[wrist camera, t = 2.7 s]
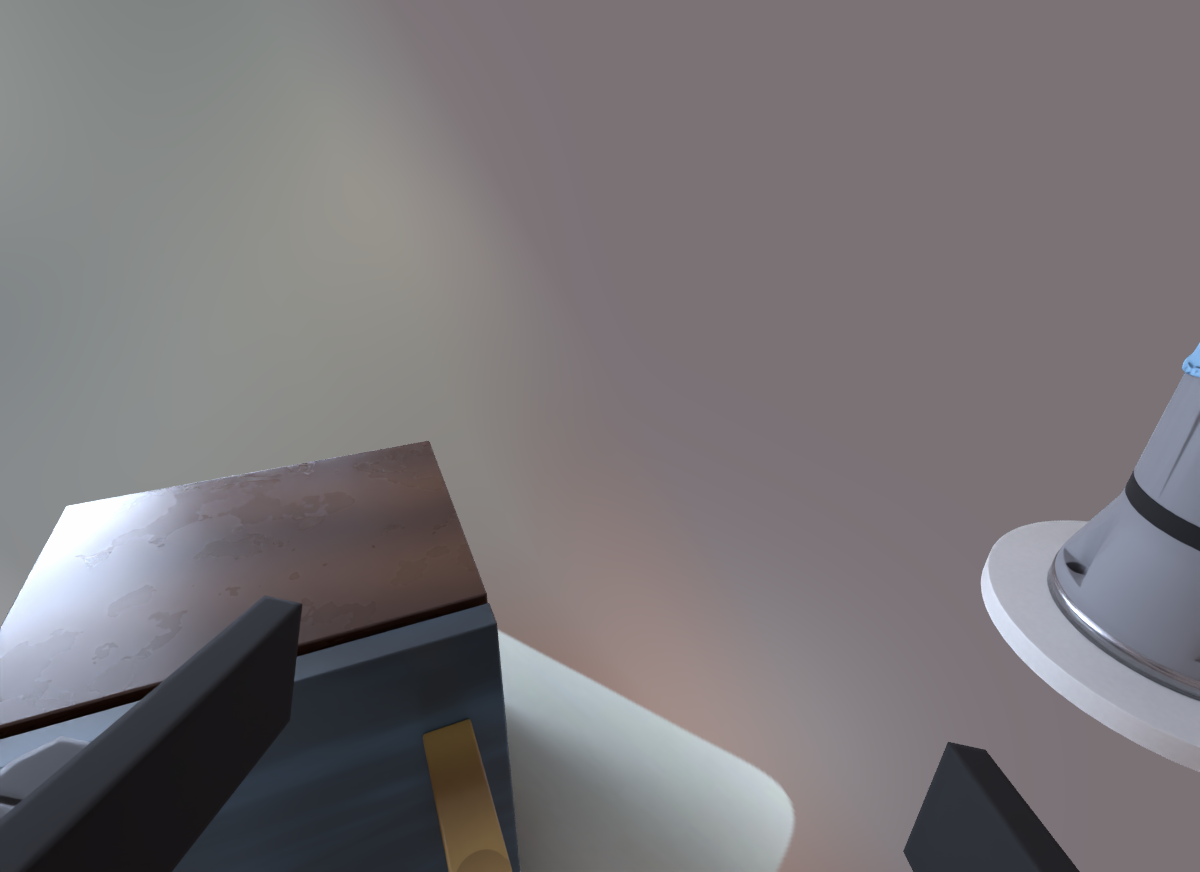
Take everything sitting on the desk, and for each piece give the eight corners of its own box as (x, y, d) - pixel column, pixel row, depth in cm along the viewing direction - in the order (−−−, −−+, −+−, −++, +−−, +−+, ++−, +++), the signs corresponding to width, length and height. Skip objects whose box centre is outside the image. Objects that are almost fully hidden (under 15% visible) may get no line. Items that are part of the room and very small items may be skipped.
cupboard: (514, 870, 29) (487, 593, 20) (160, 1025, 24) (-66, 745, 15) (463, 685, 37) (429, 440, 29) (197, 770, 33) (65, 505, 24)
